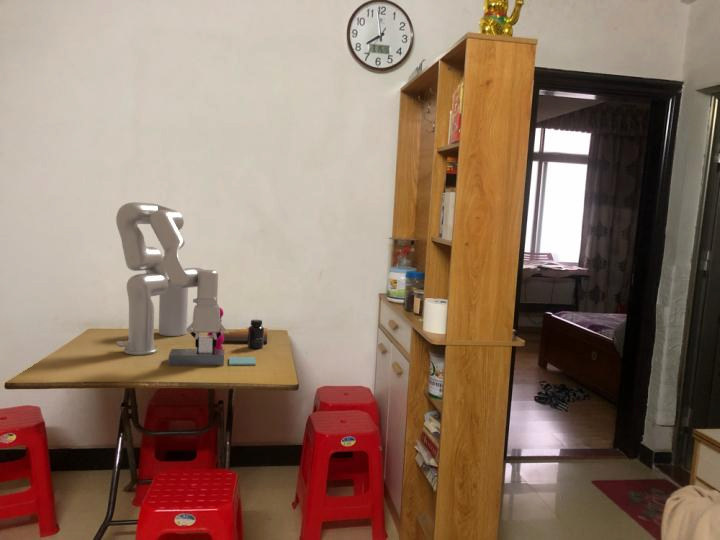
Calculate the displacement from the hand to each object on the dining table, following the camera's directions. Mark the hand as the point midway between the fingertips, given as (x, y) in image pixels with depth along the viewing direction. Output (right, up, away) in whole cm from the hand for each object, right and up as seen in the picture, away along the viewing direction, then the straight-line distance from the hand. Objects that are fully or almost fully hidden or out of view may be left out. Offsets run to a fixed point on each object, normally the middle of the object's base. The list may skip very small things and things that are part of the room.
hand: (205, 348), depth 223 cm
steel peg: (0, -5, 0) cm, 6 cm away
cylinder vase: (-28, 0, +47) cm, 55 cm away
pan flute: (+3, -2, +47) cm, 47 cm away
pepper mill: (-2, -4, +21) cm, 21 cm away
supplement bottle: (+14, -4, +29) cm, 33 cm away
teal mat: (+13, -6, +4) cm, 15 cm away
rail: (-3, -5, 0) cm, 6 cm away
